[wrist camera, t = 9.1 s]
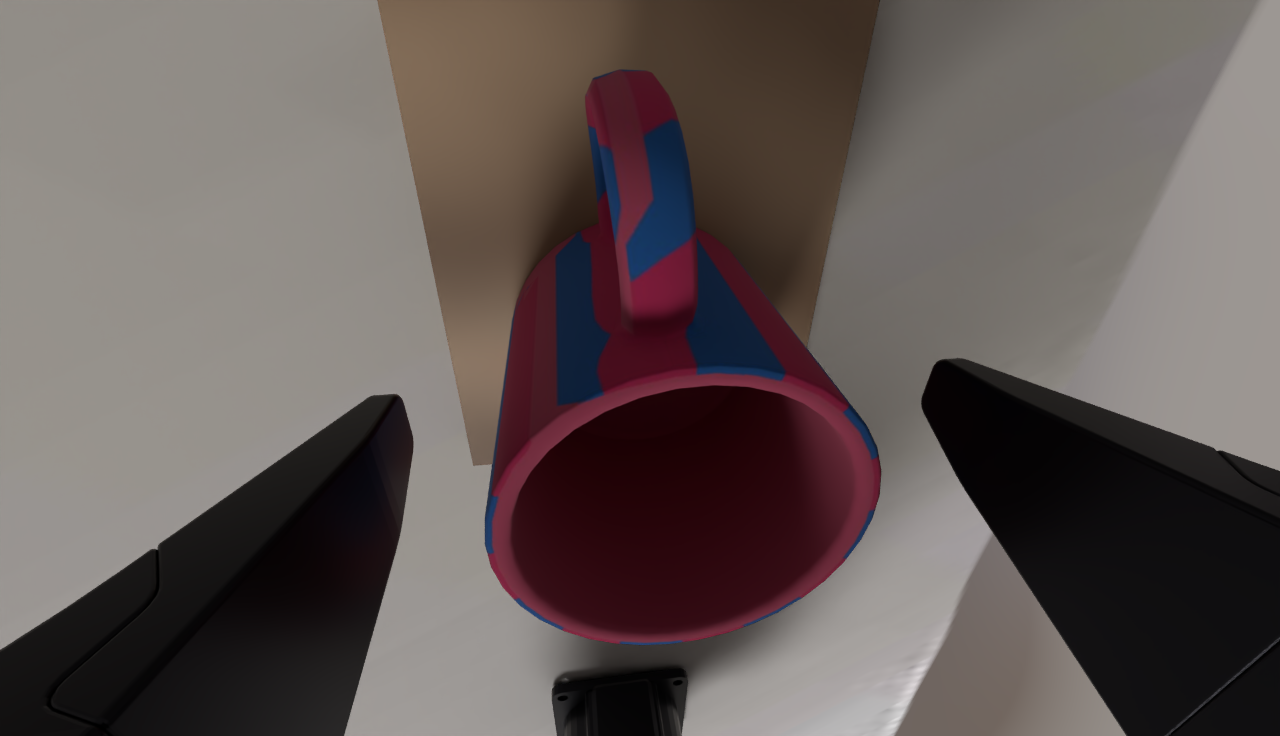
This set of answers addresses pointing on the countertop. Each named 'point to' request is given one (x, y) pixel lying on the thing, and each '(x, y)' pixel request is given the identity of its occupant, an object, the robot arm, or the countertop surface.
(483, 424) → the coaster board
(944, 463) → the countertop surface
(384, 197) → the countertop surface
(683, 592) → the mug
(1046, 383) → the countertop surface
